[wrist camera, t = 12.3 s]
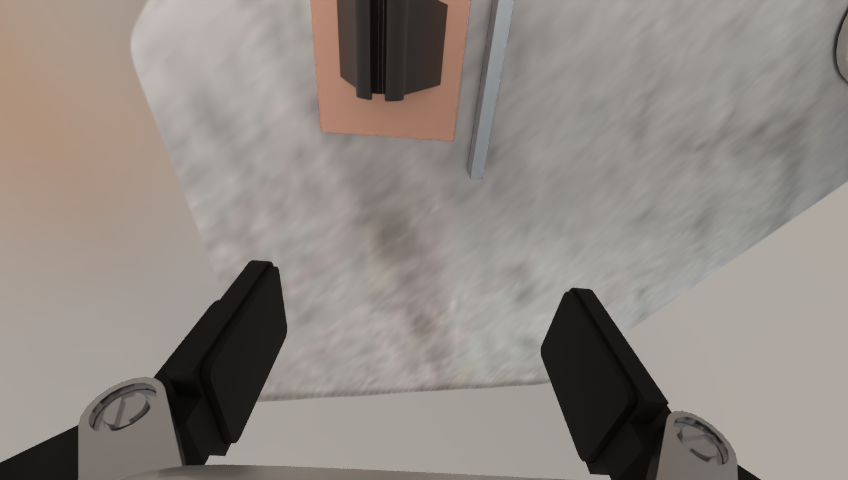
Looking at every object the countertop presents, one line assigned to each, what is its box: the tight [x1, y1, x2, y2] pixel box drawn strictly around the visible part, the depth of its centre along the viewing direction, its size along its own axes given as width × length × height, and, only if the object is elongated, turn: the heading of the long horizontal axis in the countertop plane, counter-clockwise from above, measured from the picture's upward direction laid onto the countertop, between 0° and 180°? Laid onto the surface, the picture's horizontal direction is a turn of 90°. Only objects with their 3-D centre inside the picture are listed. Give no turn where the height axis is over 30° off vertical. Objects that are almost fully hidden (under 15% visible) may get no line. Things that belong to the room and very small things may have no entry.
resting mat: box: [310, 0, 470, 141], centre depth 29 cm, size 13×16×1 cm
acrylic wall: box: [467, 0, 514, 179], centre depth 28 cm, size 1×22×2 cm, turn 175°
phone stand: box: [337, 0, 448, 102], centre depth 23 cm, size 9×6×12 cm, turn 85°
